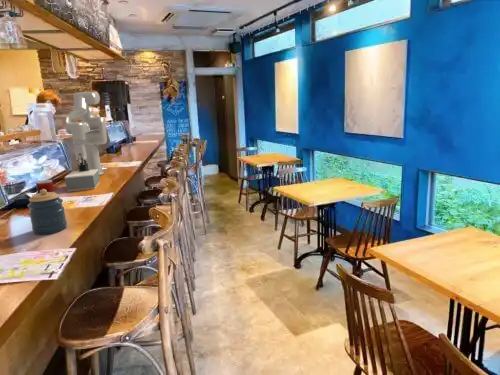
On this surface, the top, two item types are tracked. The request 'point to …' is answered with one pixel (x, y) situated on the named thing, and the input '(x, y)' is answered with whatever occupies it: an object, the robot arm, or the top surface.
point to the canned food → (45, 185)
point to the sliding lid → (82, 172)
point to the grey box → (82, 182)
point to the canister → (47, 213)
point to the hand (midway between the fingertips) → (84, 169)
